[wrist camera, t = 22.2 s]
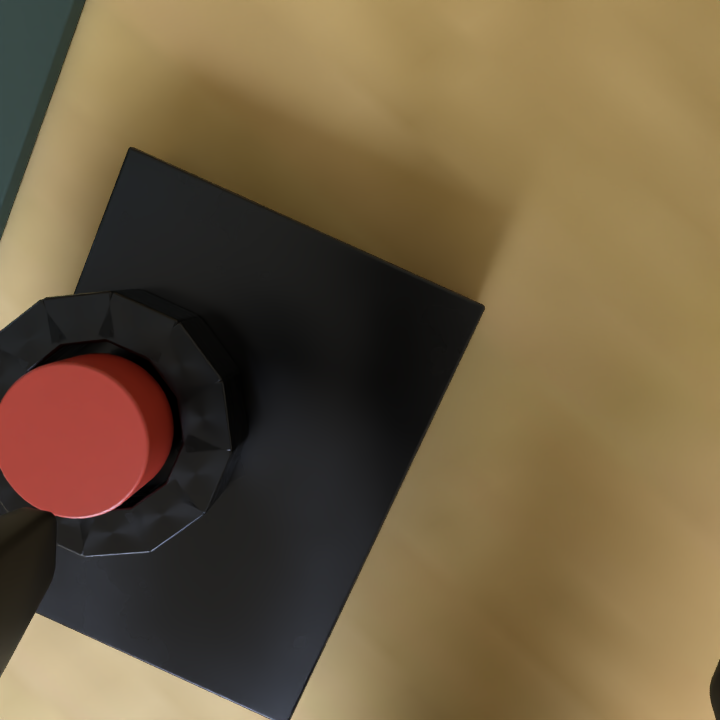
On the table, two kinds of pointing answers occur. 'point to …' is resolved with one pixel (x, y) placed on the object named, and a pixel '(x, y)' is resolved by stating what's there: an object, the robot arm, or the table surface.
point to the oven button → (84, 434)
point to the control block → (240, 428)
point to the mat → (28, 80)
